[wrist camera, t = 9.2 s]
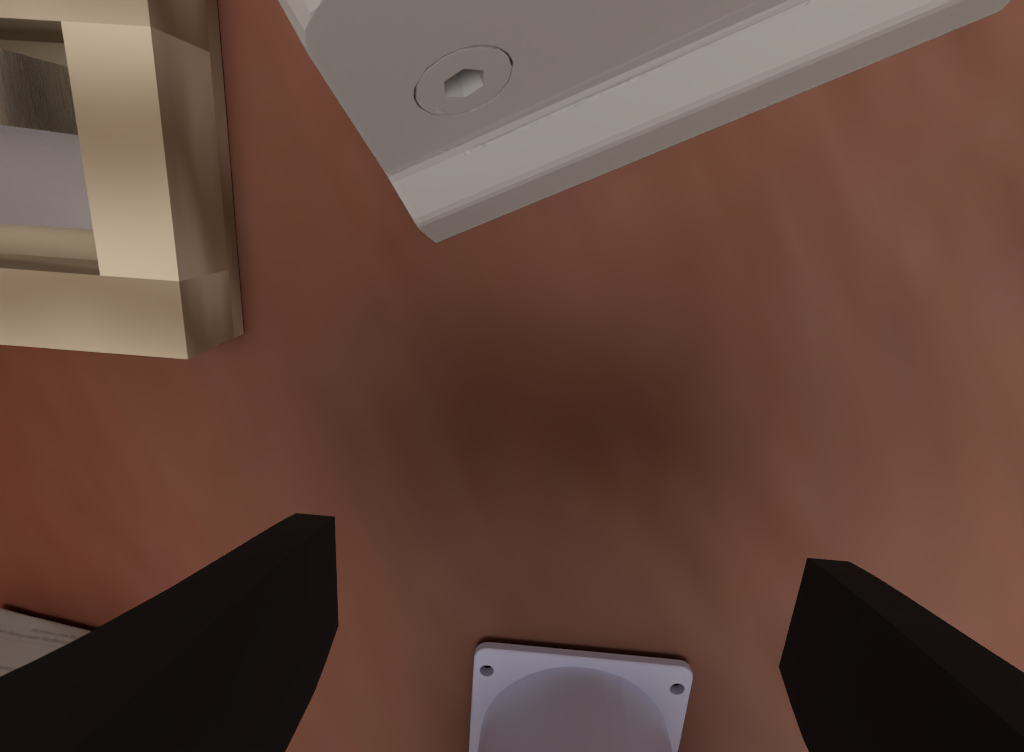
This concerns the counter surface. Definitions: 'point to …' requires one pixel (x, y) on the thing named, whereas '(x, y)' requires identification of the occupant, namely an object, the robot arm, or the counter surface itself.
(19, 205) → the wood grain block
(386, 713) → the counter surface
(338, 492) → the counter surface
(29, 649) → the skincare box
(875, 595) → the robot arm
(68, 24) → the well block
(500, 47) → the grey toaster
